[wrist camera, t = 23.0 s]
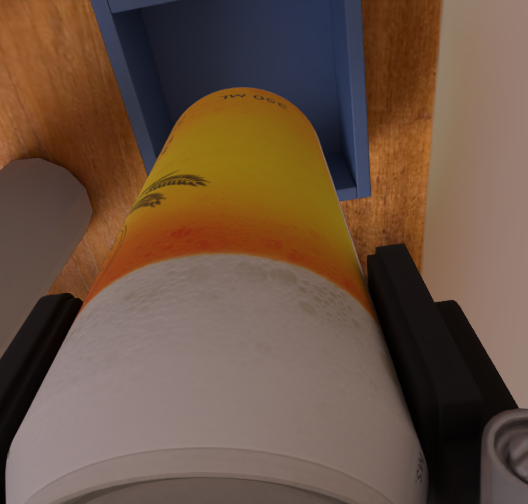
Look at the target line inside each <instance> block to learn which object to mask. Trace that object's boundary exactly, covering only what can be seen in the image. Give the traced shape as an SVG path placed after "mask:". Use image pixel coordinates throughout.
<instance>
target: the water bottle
mask: <svg viewBox="0 0 528 504" xmlns="http://www.w3.org/2000/svg"><path fill="white" fill-rule="evenodd" d="M92 213H93V209H92V206H91V203H90V200H89V197H88V194H87V191H86V188H85V187H84V186H83V185H82V184H81V183H80V182H79V181H78V180H77V179H76V178H75V177H74V176H73V175H72V174H71V173H70V172H69V171H68V170H67V169H66V168H64V167H61V166H58V165H56V164H53V163H51V162H48V161H46V160H43V159H40V158H32V159H21V160H13V161H11V162H10V163H9V164H8V165H6V166H5V167H4V168H3V169H1V170H0V359H1V357H2V356H3V354H4V352H5V351H6V349H7V348H8V346H9V345H10V343H11V342H12V340H13V339H14V337H15V336H16V334H17V332H18V331H19V329H20V328H21V326H22V325H23V323H24V322H25V320H26V319H27V317H28V316H29V314H30V312H31V311H32V309H33V308H34V306H35V305H36V303H37V302H38V300H39V299H40V298H41V297H44V296H46V294H47V293H48V291H49V289H50V288H51V286H52V285H53V283H54V282H55V280H56V278H57V277H58V275H59V274H60V272H61V271H62V269H63V268H64V266H65V264H66V263H67V261H68V260H69V258H70V257H71V255H72V254H73V252H74V250H75V249H76V247H77V246H78V244H79V243H80V241H81V240H82V238H83V236H84V235H85V233H86V232H87V230H88V226H89V223H90V219H91V216H92Z"/></svg>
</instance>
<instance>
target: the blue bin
mask: <svg viewBox="0 0 528 504" xmlns="http://www.w3.org/2000/svg"><path fill="white" fill-rule="evenodd" d="M90 1H91V4H92V7H93V10H94V13H95V16H96V19H97V22H98V25H99V29H100V32H101V35H102V38H103V41H104V44H105V47H106V50H107V53H108V56H109V59H110V62H111V65H112V68H113V71H114V74H115V77H116V80H117V83H118V86H119V89H120V92H121V95H122V99H123V102H124V105H125V108H126V111H127V114H128V117H129V120H130V123H131V126H132V129H133V132H134V135H135V138H136V141H137V144H138V147H139V150H140V153H141V156H142V159H143V162H144V166H145V169H146V172H147V175H148V176H149V174H150V172H151V170H152V168H153V166H154V165H155V163H156V161H157V159H158V157H159V155H160V153H161V151H162V149H163V147H164V145H165V143H166V141H167V139H168V137H169V135H170V133H171V131H172V129H173V128H174V126H175V124H176V122H177V121H178V120H179V118H180V117H181V116H182V114H183V113H184V112H185V111H186V110H187V109H188V108H189V107H190V106H192V105H193V104H194V103H195V102H197V101H198V100H200V99H201V98H203V97H205V96H207V95H209V94H211V93H214V92H217V91H220V90H224V89H229V88H238V87H247V88H256V89H262V90H265V91H269V92H272V93H274V94H276V95H279V96H281V97H283V98H284V99H286V100H288V101H289V102H291V103H292V104H293V105H294V106H296V107H297V108H298V109H299V110H300V111H301V112H302V113H303V114H304V115H305V116H306V118H307V119H308V120H309V121H310V123H311V125H312V126H313V128H314V130H315V132H316V134H317V136H318V139H319V142H320V145H321V148H322V151H323V154H324V157H325V160H326V163H327V166H328V169H329V172H330V175H331V177H332V180H333V183H334V186H335V189H336V192H337V195H338V198H339V201H345V200H351V199H356V198H357V197H358V198H364V197H370V196H371V185H370V164H369V144H368V124H367V103H366V83H365V63H364V42H363V22H362V1H361V0H90Z"/></svg>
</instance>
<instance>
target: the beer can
mask: <svg viewBox="0 0 528 504" xmlns="http://www.w3.org/2000/svg"><path fill="white" fill-rule="evenodd" d="M5 476H6V504H426V500H427V493H428V486H429V476H428V467H427V463H426V460H425V456H424V453H423V450H422V447H421V444H420V441H419V438H418V435H417V432H416V429H415V426H414V423H413V420H412V417H411V414H410V411H409V408H408V405H407V402H406V399H405V396H404V393H403V390H402V387H401V384H400V381H399V378H398V375H397V372H396V369H395V366H394V363H393V360H392V357H391V354H390V351H389V348H388V345H387V342H386V339H385V336H384V333H383V330H382V327H381V324H380V321H379V318H378V315H377V312H376V309H375V306H374V303H373V300H372V297H371V294H370V291H369V288H368V285H367V282H366V279H365V276H364V273H363V270H362V267H361V264H360V261H359V258H358V255H357V252H356V249H355V246H354V243H353V240H352V237H351V234H350V231H349V228H348V225H347V222H346V219H345V216H344V213H343V210H342V207H341V204H340V201H339V198H338V195H337V192H336V189H335V186H334V183H333V180H332V177H331V175H330V172H329V169H328V166H327V163H326V160H325V157H324V154H323V151H322V148H321V145H320V142H319V139H318V136H317V134H316V132H315V130H314V128H313V126H312V125H311V123H310V121H309V120H308V119H307V118H306V116H305V115H304V114H303V113H302V112H301V111H300V110H299V109H298V108H297V107H296V106H294V105H293V104H292V103H291V102H289V101H288V100H286V99H284V98H283V97H281V96H279V95H276V94H274V93H272V92H269V91H265V90H262V89H256V88H247V87H238V88H229V89H224V90H220V91H217V92H214V93H211V94H209V95H207V96H205V97H203V98H201V99H200V100H198V101H197V102H195V103H194V104H193V105H192V106H190V107H189V108H188V109H187V110H186V111H185V112H184V113H183V114H182V116H181V117H180V118H179V120H178V121H177V122H176V124H175V126H174V128H173V129H172V131H171V133H170V135H169V137H168V139H167V141H166V143H165V145H164V147H163V149H162V151H161V153H160V155H159V157H158V159H157V161H156V163H155V165H154V166H153V168H152V170H151V172H150V174H149V176H148V178H147V180H146V182H145V184H144V186H143V188H142V190H141V192H140V194H139V196H138V198H137V200H136V202H135V203H134V205H133V207H132V209H131V211H130V213H129V215H128V217H127V219H126V221H125V223H124V225H123V227H122V229H121V231H120V233H119V235H118V237H117V239H116V241H115V242H114V244H113V246H112V248H111V250H110V252H109V254H108V256H107V258H106V260H105V262H104V264H103V266H102V268H101V270H100V272H99V274H98V276H97V278H96V279H95V281H94V283H93V285H92V287H91V289H90V291H89V293H88V295H87V297H86V299H85V301H84V303H83V305H82V307H81V309H80V311H79V313H78V315H77V316H76V318H75V320H74V322H73V324H72V326H71V328H70V330H69V332H68V334H67V336H66V338H65V340H64V342H63V344H62V346H61V348H60V350H59V352H58V353H57V355H56V357H55V359H54V361H53V363H52V365H51V367H50V369H49V371H48V373H47V375H46V377H45V379H44V381H43V383H42V385H41V387H40V389H39V390H38V392H37V394H36V396H35V398H34V400H33V402H32V404H31V406H30V408H29V410H28V412H27V414H26V416H25V418H24V420H23V422H22V424H21V426H20V428H19V429H18V431H17V433H16V435H15V437H14V439H13V441H12V444H11V447H10V450H9V452H8V455H7V462H6V471H5Z"/></svg>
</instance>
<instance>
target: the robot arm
mask: <svg viewBox="0 0 528 504" xmlns="http://www.w3.org/2000/svg"><path fill="white" fill-rule="evenodd" d="M367 270H368V286H369V291H370V294H371V297H372V300H373V303H374V306H375V309H376V312H377V315H378V318H379V321H380V324H381V327H382V330H383V333H384V336H385V339H386V342H387V345H388V348H389V351H390V354H391V357H392V360H393V363H394V366H395V369H396V372H397V375H398V378H399V381H400V384H401V387H402V390H403V393H404V396H405V399H406V402H407V405H408V408H409V411H410V414H411V417H412V420H413V423H414V426H415V429H416V432H417V435H418V438H419V441H420V444H421V447H422V450H423V453H424V456H425V460H426V463H427V467H428V476H429V486H428V493H427V500H426V504H528V409H521V408H519V407H518V406H517V404H516V402H515V400H514V399H513V397H512V395H511V394H510V392H509V390H508V388H507V387H506V385H505V383H504V382H503V380H502V378H501V376H500V375H499V373H498V371H497V370H496V368H495V366H494V364H493V363H492V361H491V359H490V357H489V356H488V354H487V352H486V350H485V349H484V347H483V346H482V344H481V342H480V340H479V338H478V337H477V335H476V334H475V331H474V330H473V328H472V327H471V325H470V323H469V321H468V319H467V318H466V316H465V314H464V313H463V311H462V309H461V307H460V306H459V305H458V303H457V302H456V301H454V300H448V301H442V302H434V301H433V299H432V297H431V295H430V293H429V291H428V289H427V287H426V285H425V283H424V281H423V279H422V277H421V275H420V273H419V271H418V269H417V267H416V265H415V263H414V262H413V260H412V258H411V256H410V254H409V252H408V250H407V248H406V246H405V245H404V244H403V243H401V244H395V245H388V246H381V247H377V248H376V254H374V255H368V256H367ZM82 305H83V302H82V300H81V299H79V298H74V296H73V295H72V294H70V293H62V294H56V295H49V296H44V297H41V298H40V299H39V300H38V302H37V303H36V305H35V306H34V308H33V309H32V311H31V312H30V314H29V316H28V317H27V319H26V320H25V322H24V323H23V325H22V326H21V328H20V329H19V331H18V332H17V334H16V336H15V337H14V339H13V340H12V342H11V343H10V345H9V346H8V348H7V349H6V351H5V352H4V354H3V356H2V357H1V359H0V504H6V476H5V471H6V462H7V455H8V452H9V450H10V447H11V444H12V441H13V439H14V437H15V435H16V433H17V431H18V429H19V428H20V426H21V424H22V422H23V420H24V418H25V416H26V414H27V412H28V410H29V408H30V406H31V404H32V402H33V400H34V398H35V396H36V394H37V392H38V390H39V389H40V387H41V385H42V383H43V381H44V379H45V377H46V375H47V373H48V371H49V369H50V367H51V365H52V363H53V361H54V359H55V357H56V355H57V353H58V352H59V350H60V348H61V346H62V344H63V342H64V340H65V338H66V336H67V334H68V332H69V330H70V328H71V326H72V324H73V322H74V320H75V318H76V316H77V315H78V313H79V311H80V309H81V307H82Z"/></svg>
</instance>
